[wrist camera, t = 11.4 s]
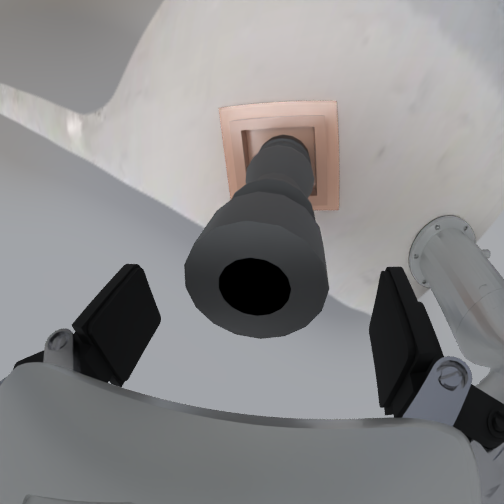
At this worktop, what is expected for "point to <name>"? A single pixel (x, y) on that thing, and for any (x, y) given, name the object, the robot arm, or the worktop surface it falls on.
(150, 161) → the worktop surface
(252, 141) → the square tray
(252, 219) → the candle holder
